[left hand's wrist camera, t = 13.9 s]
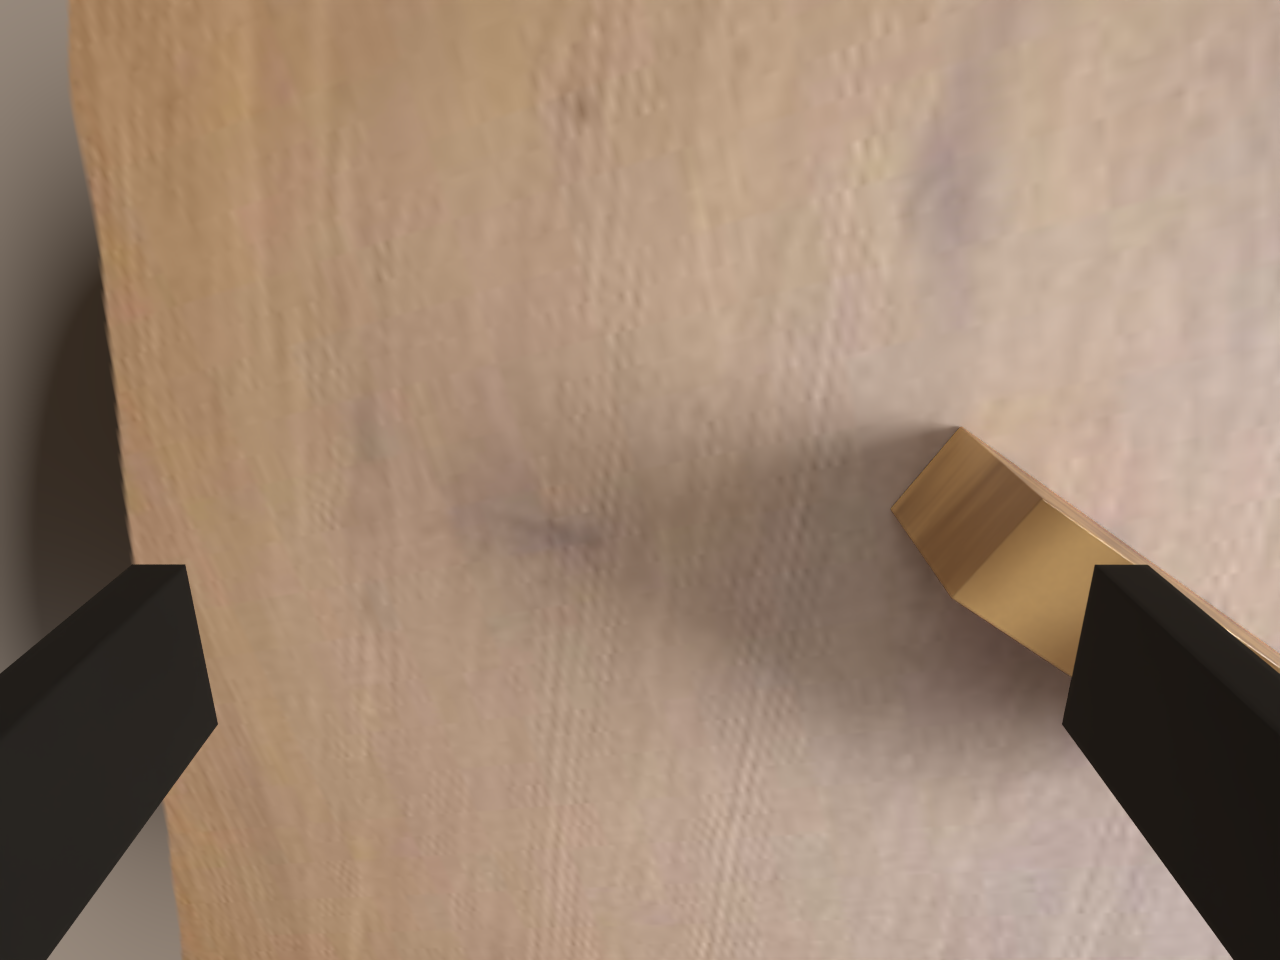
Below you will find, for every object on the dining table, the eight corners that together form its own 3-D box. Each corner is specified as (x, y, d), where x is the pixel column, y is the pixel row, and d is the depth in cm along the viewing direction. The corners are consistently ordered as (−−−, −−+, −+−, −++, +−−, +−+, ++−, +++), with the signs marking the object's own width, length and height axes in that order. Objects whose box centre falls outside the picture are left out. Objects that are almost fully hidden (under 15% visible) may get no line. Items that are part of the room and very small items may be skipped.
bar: (889, 508, 42) (950, 598, 34) (960, 425, 41) (1042, 497, 32) (1206, 722, 47) (1329, 848, 38) (1280, 654, 45) (1425, 769, 37)
